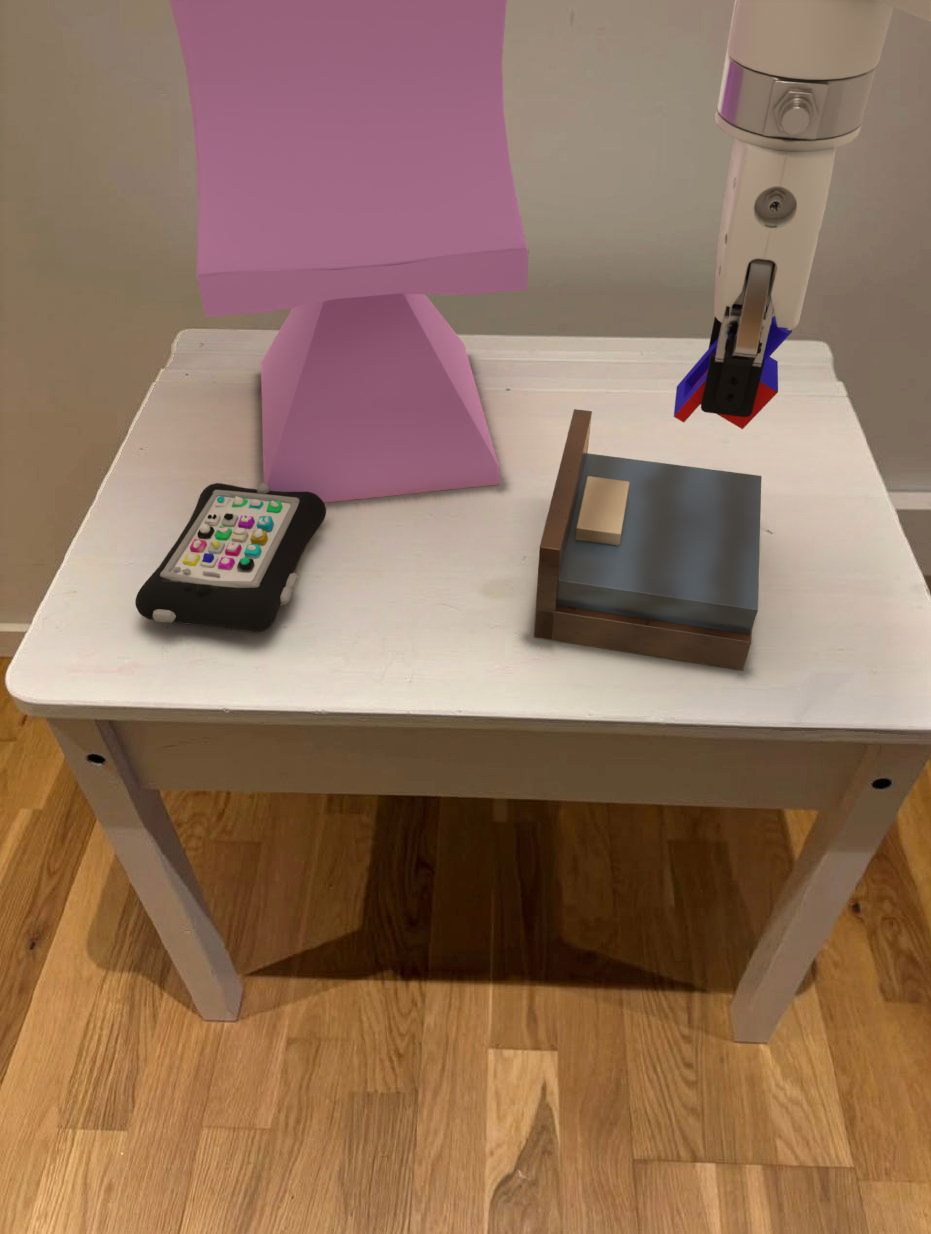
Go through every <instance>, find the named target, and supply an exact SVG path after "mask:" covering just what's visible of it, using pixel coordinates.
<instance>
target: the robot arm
mask: <svg viewBox="0 0 931 1234" xmlns="http://www.w3.org/2000/svg"><path fill="white" fill-rule="evenodd" d="M894 9H898V10H899V11H902V12H905V13H907V14H909V15H911V16H914V17H917V18H920V19H922V20H925V21H927V22H930V23H931V0H734V3H733V9H732V16H731V21H730V26H729V33H728V38H727V44H726V50H725V51H726V52H725V58H724V62H723V67H722V69H723V70H722V75H721V80H720V86H719V91H718V92H719V93H718V99H717V104H716V109H715V115H714V121H715V123H716V126H717V127H718V128H719V129H720V130H721V131H722V132H723V133H725V134H726V135H728V136H729V137H731V138H733V142H732V149H731V155H730V159H729V160H730V161H729V164H728V165H729V166H728V170H727V171H728V172H727V177H726V182H725V183H726V184H725V190H724V195H723V196H724V197H723V201H722V206H721V207H722V208H721V214H720V220H719V221H720V222H719V230H718V239H717V250H716V263H715V276H714V277H715V278H714V300H713V301H714V303H713V316H714V318H713V324H712V329H711V334H710V339H709V344H708V349H709V348H710V347H711V345H712V344H713V343H714V342H715V341H716V340H717V338H718V337H719V339H718V344H717V349H716V353H711V357H710V362H709V367H708V372H707V377H706V382H705V387H704V392H703V397H702V402H701V405H700V410H701V411H702V412H704V413H707V414H716V415H717V414H723V415H731V416H739V417H748V416H750V415H751V414H752V411H753V407H754V403H755V398H756V394H757V390H758V386H759V382H760V378H761V374H762V370H763V366H764V359H763V356H764V351H765V347H766V342H767V338H768V333H769V329H770V325H771V323H772V317H773V316H775V318H776V323H777V327H783V328H786V330H792V331H793V329H795V328H796V327H797V326H798V325H799V324H800V321H801V315H802V311H803V307H804V301H805V297H806V294H807V288H808V284H809V280H810V276H811V271H812V267H813V263H814V258H815V255H816V250H817V246H818V241H819V238H820V233H821V229H822V224H823V220H824V215H825V211H826V206H827V201H828V197H829V191H830V187H831V183H832V176H833V170H834V166H835V159H836V151H837V148H840V147H842V146H844V145H847V144H849V143H851V142H853V141H854V140H855V139H856V138H857V137H858V136H859V135H860V132H861V128H862V126H863V125H862V124H863V120H864V116H865V113H866V109H867V105H868V101H869V98H870V96H871V95H870V94H871V91H872V87H873V83H874V80H875V76H876V73H877V69H878V66H879V62H880V59H881V55H882V53H883V52H882V51H883V49H884V46H885V45H884V44H885V41H886V38H887V35H888V34H887V33H888V30H889V26H890V22H891V19H892V16H893V11H894ZM729 333H732V334H731V336H730V337H729ZM728 338H729V339H728Z"/></svg>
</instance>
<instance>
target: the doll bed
mask: <svg viewBox="0 0 931 1234" xmlns="http://www.w3.org/2000/svg"><path fill="white" fill-rule="evenodd" d="M592 415H593V411H591V410H584V409H577V408H574V409H573V411H572V415H571V419H570V423H569V428H568V432H567V435H566V440H565V444H564V448H563V451H562V454H561V455H562V456H561V461H560V464H559V467H558V472H557V476H556V480H555V484H554V488H553V492H552V496H551V500H550V504H549V508H548V512H547V515H546V520H545V524H544V528H543V531H542V537H541V540H540V545H539V551H538V565H537V581H536V582H537V583H536V598H535V613H534V625H533V626H534V628H533V638H535V639H542V640H547V641H555V642H563V643H568V644H573V645H580V646H587V647H593V648H598V649H604V650H605V649H606V650H612V651H617V652H625V653H631V654H637V655H642V656H649V657H656V658H662V659H667V660H674V661H680V662H685V663H693V664H700V665H706V666H712V667H718V668H723V669H731V670H737V671H743V670H744V669H745V665H746V662H747V659H748V656H749V653H750V652H749V651H750V650H751V645H752V643H753V642H752V641H753V640H752V639H753V638H752V637H753V627H754V625H755V622H756V618H757V615H758V612H759V590H760V589H759V587H760V586H759V584H760V583H759V582H760V552H761V551H760V548H761V547H760V546H761V545H760V544H761V511H762V510H761V508H762V507H761V506H762V475H757V474H750V473H749V474H748V473H744V472H743V473H742V472H735V471H727V470H720V469H719V470H718V469H712V468H704V467H697V466H689V465H681V464H672V463H666V462H657V461H650V460H643V459H633V458H627V457H619V456H611V455H603V454H597V453H589V443H590V433H591V424H592Z"/></svg>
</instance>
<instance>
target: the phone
mask: <svg viewBox="0 0 931 1234" xmlns="http://www.w3.org/2000/svg"><path fill="white" fill-rule="evenodd" d="M199 494H200V495H199V497H198V500H197V502H196V505H195V508H194V510H193V512H192V514H191V516H190V519H189V520H188V522H187V524H186V525H185V527H184V529H183V531H182V532H181V534H179V537H178V538H177V540H176V541H175V542H174V544H173V546H172V547H171V548H170V550H169V551H168V552H167V554H166V555H165V556H164V558H163V560H162V562H161V563H160V564H159V566H158V567H157V568H156V569H155V570H154V572H152V574H151V575H150V576H149V577H148V579H147V580H146V581H145V582H144V583H143V584H142V586H141V587H140V588H139V589H138V592H137V594H136V597H135V603H134V605H135V608H136V610H137V612H138V614H140V615H141V616H142V617H143V618H145V619H146V620H149V621H156V622H158V623H168V624H169V623H175V624H184V625H186V624H187V625H196V626H204V627H212V628H221V629H225V630H232V631H237V632H238V631H240V632H249V633H253V634H258V633H262V632H265V631H267V630H268V629H269V628H271V627H272V626H273V624H274V623H275V621H276V619H277V616H278V614H279V612H280V608H281V606H285V605H287V604H289V602H290V600H291V597H292V594H293V590H294V589H295V588H296V586H297V583H298V580H299V575H297V573H295V571H296V569H297V566H298V564H299V562H300V560H301V558H302V555H303V553H304V552H305V549H306V547H307V546H308V545H309V543H310V542H311V540H312V538H313V537H314V536H315V534H316V533H317V532H318V530H319V529H320V527H321V525H322V524H323V522H324V521H325V518H326V516H327V507H326V505H325V504H326V503H324V502H323V501H322V500H321V499H320V497H319V496H317V495H316V494H314V493H311V492H280V491H270V488H269V486H268V485H266V484H264V482H262V483H260V484H259V485H257V486H256V488H249V487H248V488H247V487H244V486H243V487H242V486H238V485H231V484H227V483H221V482H215V483H211V484H209V485H207V486H206V487H205V488H204V489H203V490H202V491H201V493H199Z"/></svg>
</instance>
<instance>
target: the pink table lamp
mask: <svg viewBox="0 0 931 1234" xmlns="http://www.w3.org/2000/svg"><path fill="white" fill-rule="evenodd" d="M168 1H169V5H170V8H171V11H172V16H173V20H174V24H175V29H176V32H177V37H178V41H179V45H180V50H181V54H182V59H183V63H184V67H185V73H186V74H185V75H186V80H187V86H188V87H187V88H188V94H189V95H188V96H189V102H190V108H191V114H192V115H191V116H192V125H193V139H194V149H195V151H194V152H195V162H196V189H197V190H196V192H197V193H196V194H197V239H196V240H197V241H196V242H197V243H196V244H197V246H196V280H197V281H196V282H197V285H198V290H199V295H200V298H201V299H200V300H201V303H202V307H203V312H204V313H203V314H204V316H205V318H214V317H215V318H216V317H226V316H237V315H249V314H260V313H272V312H276V311H277V312H278V311H282V310H286V309H287V310H288V309H291V310H290V311H289V313H288V315H287V317H286V318H285V321H284V322H283V324H282V325H281V327H280V328H279V330H278V332H277V334H276V336H275V338H274V339H273V340H272V342H271V344H270V346H269V348H268V349H267V351H266V352H265V354H264V356H263V357H262V359H261V361H260V380H261V381H260V383H261V387H260V388H261V422H262V423H261V424H262V425H261V426H262V428H261V429H262V464H263V467H262V468H263V469H262V470H263V483H264V484H266V485H268V486H269V488H270V491H280V492H311V493H314V494H316V495H317V496H319V497H320V499H321V500H322V501H323V502H324V504H326V503H333V502H345V501H354V500H363V499H372V498H382V497H391V496H401V495H411V494H421V493H431V492H440V491H449V490H459V489H469V488H477V487H488V486H496V485H497V486H498V485H500V471H501V469H500V468H501V467H500V465H499V462H498V458H497V455H496V452H495V447H494V444H493V440H492V437H491V434H490V430H489V427H488V426H489V425H488V423H487V419H486V416H485V413H484V410H483V409H484V408H483V406H482V405H483V404H482V402H481V398H480V394H479V391H478V388H477V384H476V381H475V377H474V373H473V370H472V367H471V366H472V365H471V363H470V359H469V355H468V352H467V349H466V346H465V343H464V341H463V340H462V339H461V338H460V337H459V335H458V334H457V333H456V331H455V330H454V329H453V328H452V326H451V325H450V323H448V322H447V320H446V319H445V317H444V316H443V315H442V314H441V312H440V311H439V310H438V308H437V307H436V306H435V305H434V303H432V301H431V300H430V298H429V297H428V296H427V295H434V296H435V295H436V296H437V295H441V296H475V295H484V294H495V293H496V294H499V293H508V292H519V291H520V292H521V291H527V290H528V272H529V247H528V244H527V239H526V234H525V231H524V226H523V221H522V216H521V211H520V207H519V203H518V202H519V201H518V197H517V193H516V187H515V182H514V181H515V180H514V176H513V171H512V170H513V169H512V164H511V158H510V153H509V143H508V135H507V127H506V126H507V125H506V119H505V108H504V107H505V105H504V103H505V102H504V79H503V76H504V75H503V55H504V54H503V52H504V41H505V40H504V38H505V28H506V27H505V26H506V13H507V4H508V0H168Z"/></svg>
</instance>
